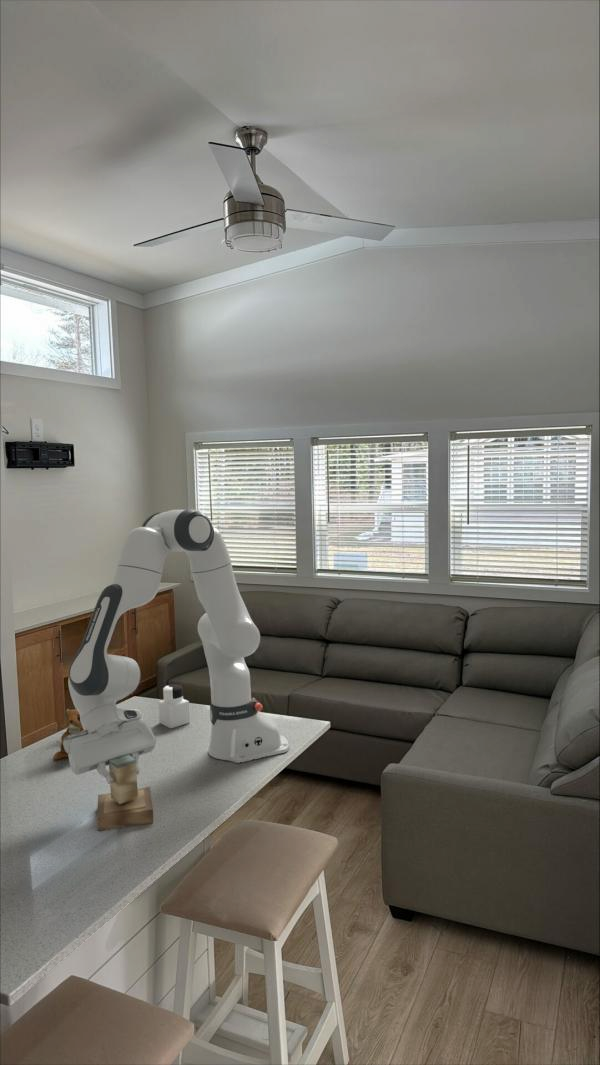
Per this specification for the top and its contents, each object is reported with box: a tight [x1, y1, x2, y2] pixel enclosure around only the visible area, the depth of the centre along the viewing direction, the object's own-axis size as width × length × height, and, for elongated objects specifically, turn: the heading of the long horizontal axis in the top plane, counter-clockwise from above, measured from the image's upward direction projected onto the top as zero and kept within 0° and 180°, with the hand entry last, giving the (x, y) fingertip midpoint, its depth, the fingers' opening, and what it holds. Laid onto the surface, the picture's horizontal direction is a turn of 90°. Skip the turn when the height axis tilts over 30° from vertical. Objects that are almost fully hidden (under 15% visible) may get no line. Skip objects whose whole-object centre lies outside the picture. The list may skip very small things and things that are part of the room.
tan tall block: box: [108, 754, 138, 804], centre depth 162 cm, size 5×5×9 cm
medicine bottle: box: [158, 683, 191, 729], centre depth 222 cm, size 7×7×12 cm
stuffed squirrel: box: [53, 708, 84, 761], centre depth 202 cm, size 10×14×13 cm
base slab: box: [96, 786, 154, 832], centre depth 163 cm, size 12×12×3 cm
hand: (124, 777), depth 162 cm, fingers closed on tan tall block, 4 cm apart
